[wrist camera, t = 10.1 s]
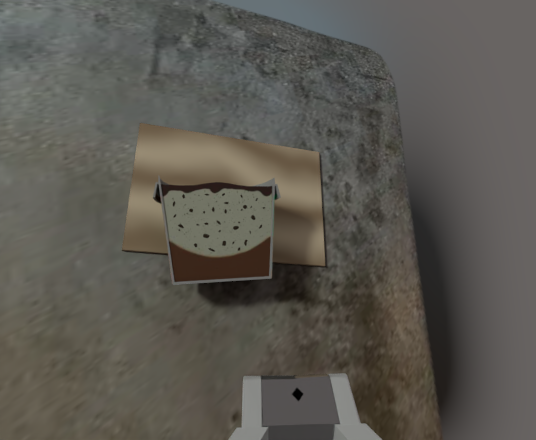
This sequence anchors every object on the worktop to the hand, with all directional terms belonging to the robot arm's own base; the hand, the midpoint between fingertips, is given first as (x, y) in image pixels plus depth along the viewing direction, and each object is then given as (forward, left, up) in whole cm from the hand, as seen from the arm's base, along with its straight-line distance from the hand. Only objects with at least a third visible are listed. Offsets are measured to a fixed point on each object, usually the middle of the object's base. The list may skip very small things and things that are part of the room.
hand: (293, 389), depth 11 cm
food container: (+9, -2, -27) cm, 28 cm away
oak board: (+19, -3, -29) cm, 35 cm away
